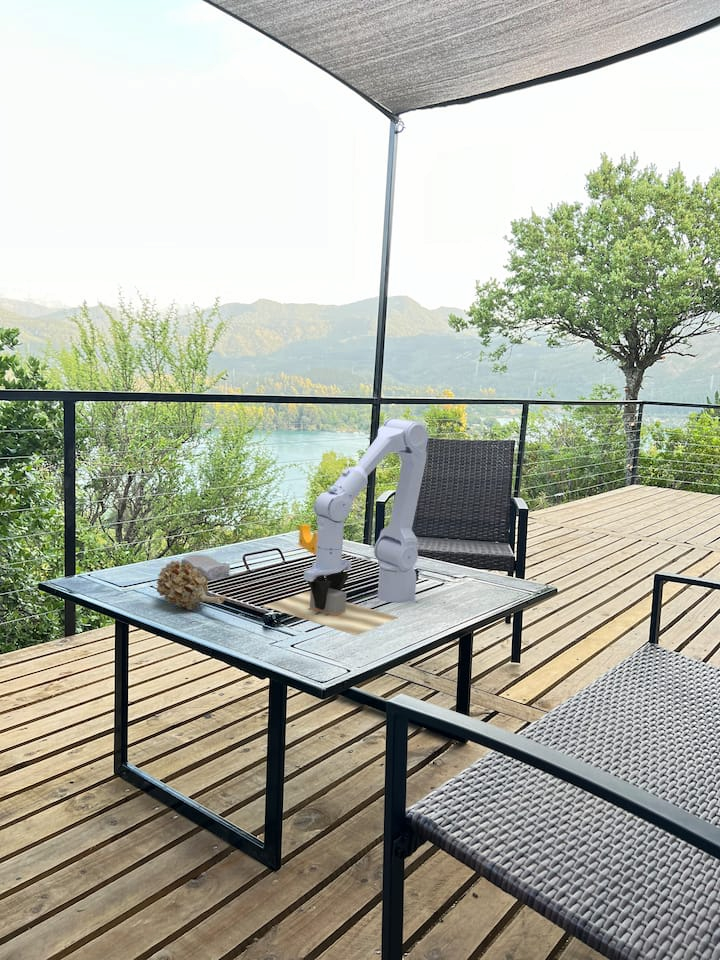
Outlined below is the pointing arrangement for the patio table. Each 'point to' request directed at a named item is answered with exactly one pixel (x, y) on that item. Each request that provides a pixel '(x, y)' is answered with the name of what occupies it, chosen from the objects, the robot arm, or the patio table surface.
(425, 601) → the patio table surface
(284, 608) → the board
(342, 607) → the block
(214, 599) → the dried flower head
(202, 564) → the stone block
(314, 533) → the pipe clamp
